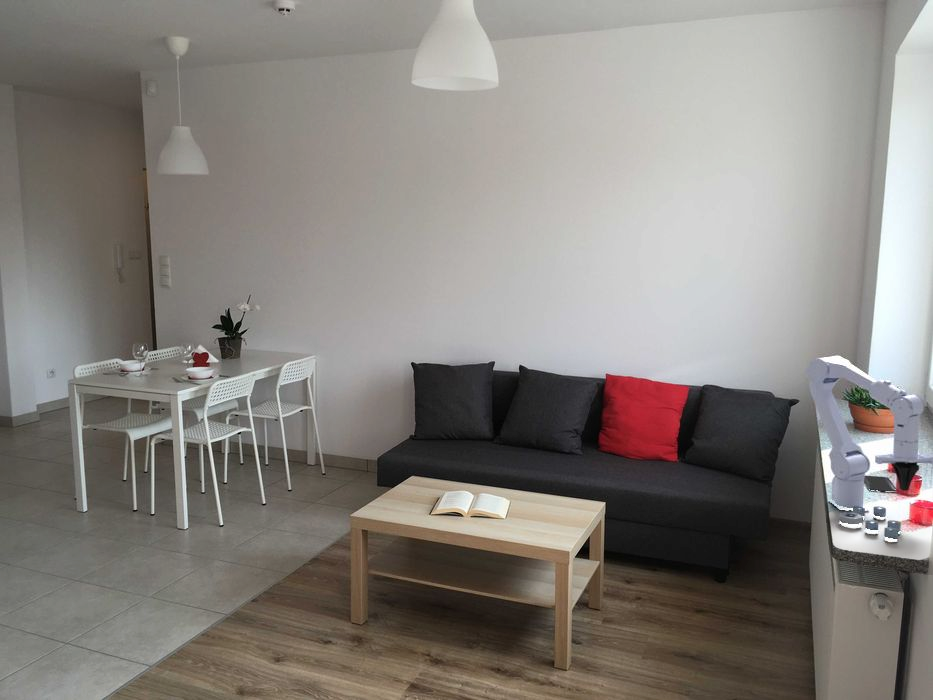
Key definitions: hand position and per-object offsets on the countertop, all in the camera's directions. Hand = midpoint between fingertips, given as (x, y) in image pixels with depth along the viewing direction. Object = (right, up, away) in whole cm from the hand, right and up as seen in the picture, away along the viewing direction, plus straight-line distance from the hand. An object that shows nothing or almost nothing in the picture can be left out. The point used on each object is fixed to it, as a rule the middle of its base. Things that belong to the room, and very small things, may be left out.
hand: (904, 489), depth 204 cm
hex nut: (-14, -10, +1) cm, 17 cm away
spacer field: (-8, -10, -3) cm, 13 cm away
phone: (+12, -6, +35) cm, 37 cm away
